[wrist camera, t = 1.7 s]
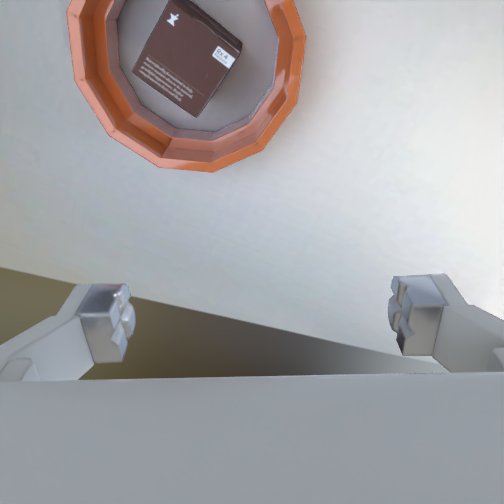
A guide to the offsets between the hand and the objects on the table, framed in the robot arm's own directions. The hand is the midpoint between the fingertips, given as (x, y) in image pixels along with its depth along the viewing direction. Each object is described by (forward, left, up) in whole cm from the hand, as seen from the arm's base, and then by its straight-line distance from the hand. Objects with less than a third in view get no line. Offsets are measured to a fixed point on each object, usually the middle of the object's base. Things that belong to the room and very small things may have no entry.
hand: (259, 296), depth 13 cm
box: (+4, -6, -31) cm, 32 cm away
